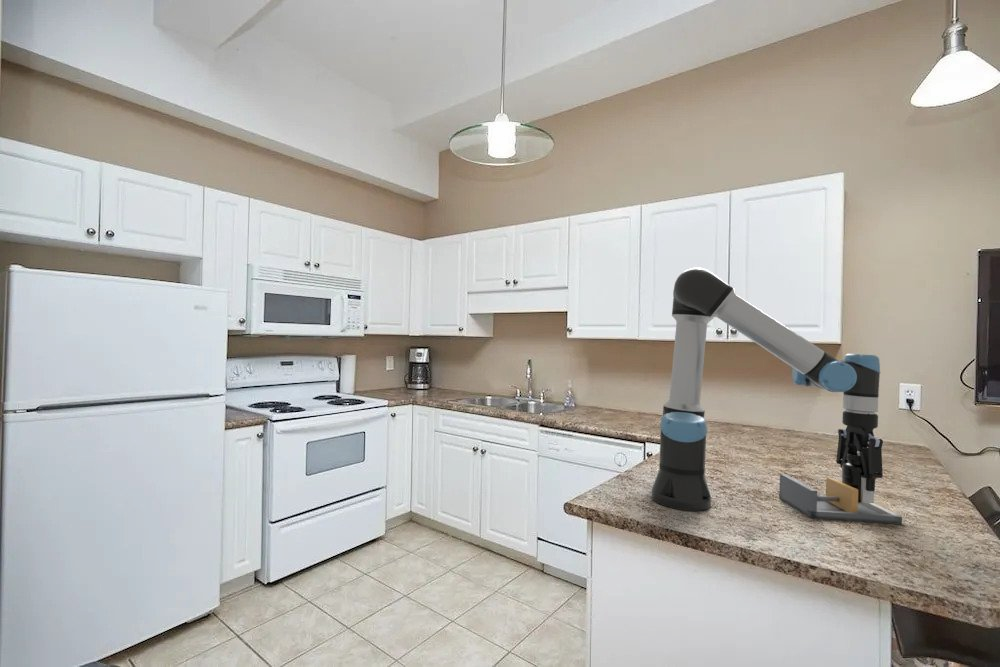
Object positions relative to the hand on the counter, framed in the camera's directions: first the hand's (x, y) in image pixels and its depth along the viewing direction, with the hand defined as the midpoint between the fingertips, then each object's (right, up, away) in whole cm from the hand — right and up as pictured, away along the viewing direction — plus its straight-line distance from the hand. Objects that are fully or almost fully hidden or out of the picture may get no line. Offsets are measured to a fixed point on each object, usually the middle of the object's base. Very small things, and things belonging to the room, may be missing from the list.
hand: (857, 497), depth 125 cm
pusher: (-7, -3, 0) cm, 8 cm away
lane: (-5, -4, 0) cm, 6 cm away
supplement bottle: (0, -1, 0) cm, 1 cm away
